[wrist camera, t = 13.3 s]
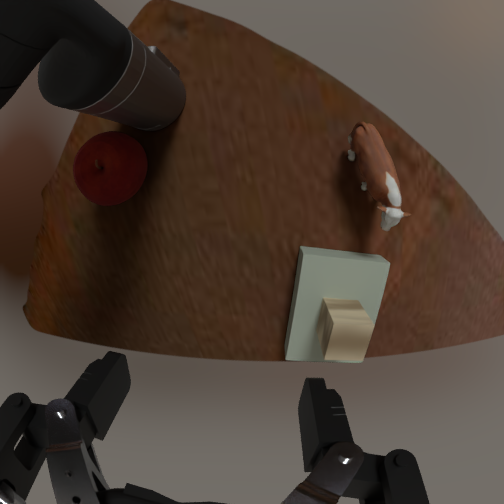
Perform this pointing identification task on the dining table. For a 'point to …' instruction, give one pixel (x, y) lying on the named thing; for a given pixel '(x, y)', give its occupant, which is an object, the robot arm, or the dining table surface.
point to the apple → (110, 168)
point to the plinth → (330, 294)
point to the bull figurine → (377, 172)
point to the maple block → (343, 329)
